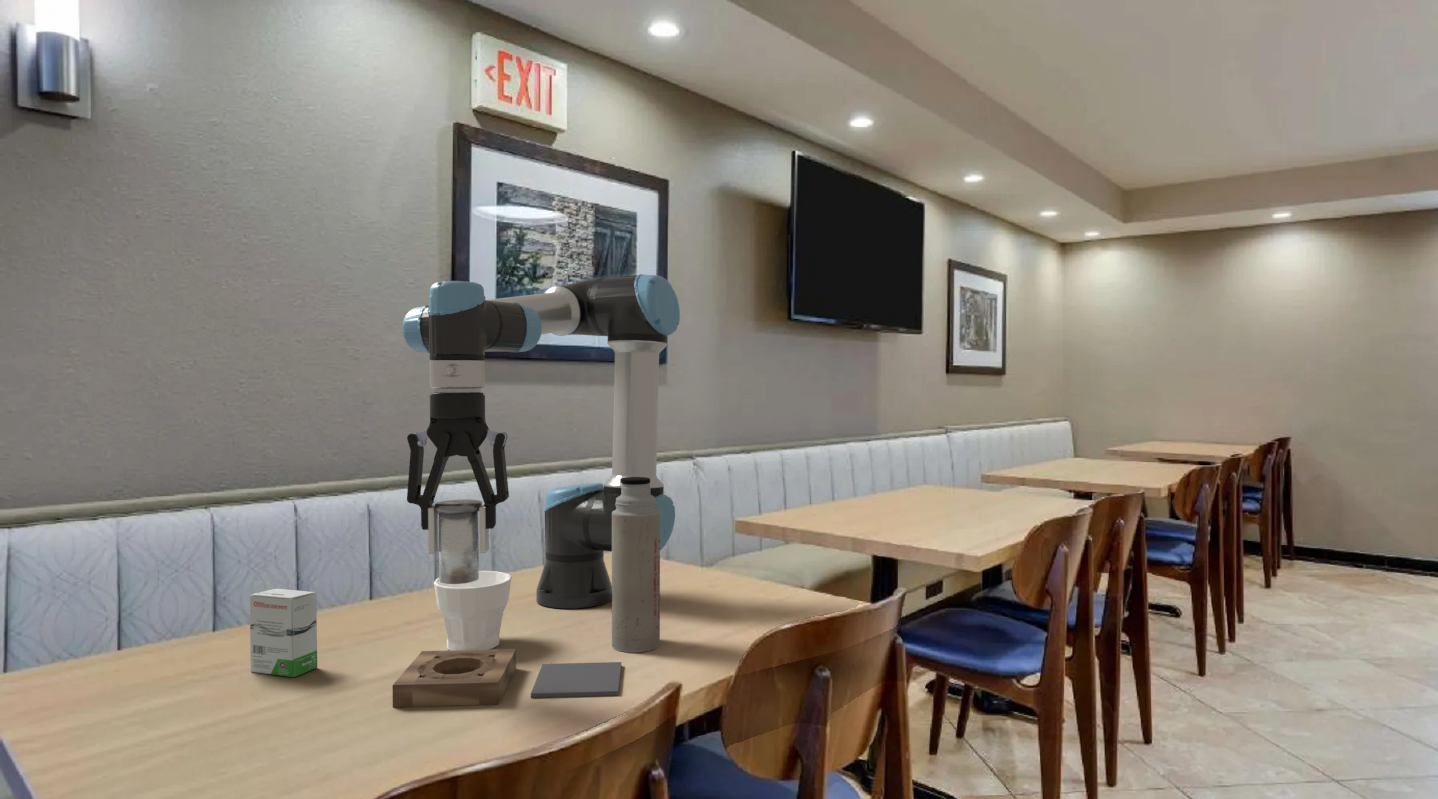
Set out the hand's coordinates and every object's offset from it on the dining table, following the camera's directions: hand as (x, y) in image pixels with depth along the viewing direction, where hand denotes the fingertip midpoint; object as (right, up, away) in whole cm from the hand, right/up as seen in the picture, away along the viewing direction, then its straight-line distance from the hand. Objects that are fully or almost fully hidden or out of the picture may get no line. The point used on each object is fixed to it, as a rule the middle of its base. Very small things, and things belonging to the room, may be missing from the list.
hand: (459, 551), depth 117 cm
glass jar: (0, -4, 0) cm, 4 cm away
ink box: (-29, -19, +7) cm, 35 cm away
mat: (+17, -19, +2) cm, 26 cm away
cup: (-4, -19, +19) cm, 27 cm away
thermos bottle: (+23, -19, +19) cm, 36 cm away
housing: (0, -19, 0) cm, 19 cm away
